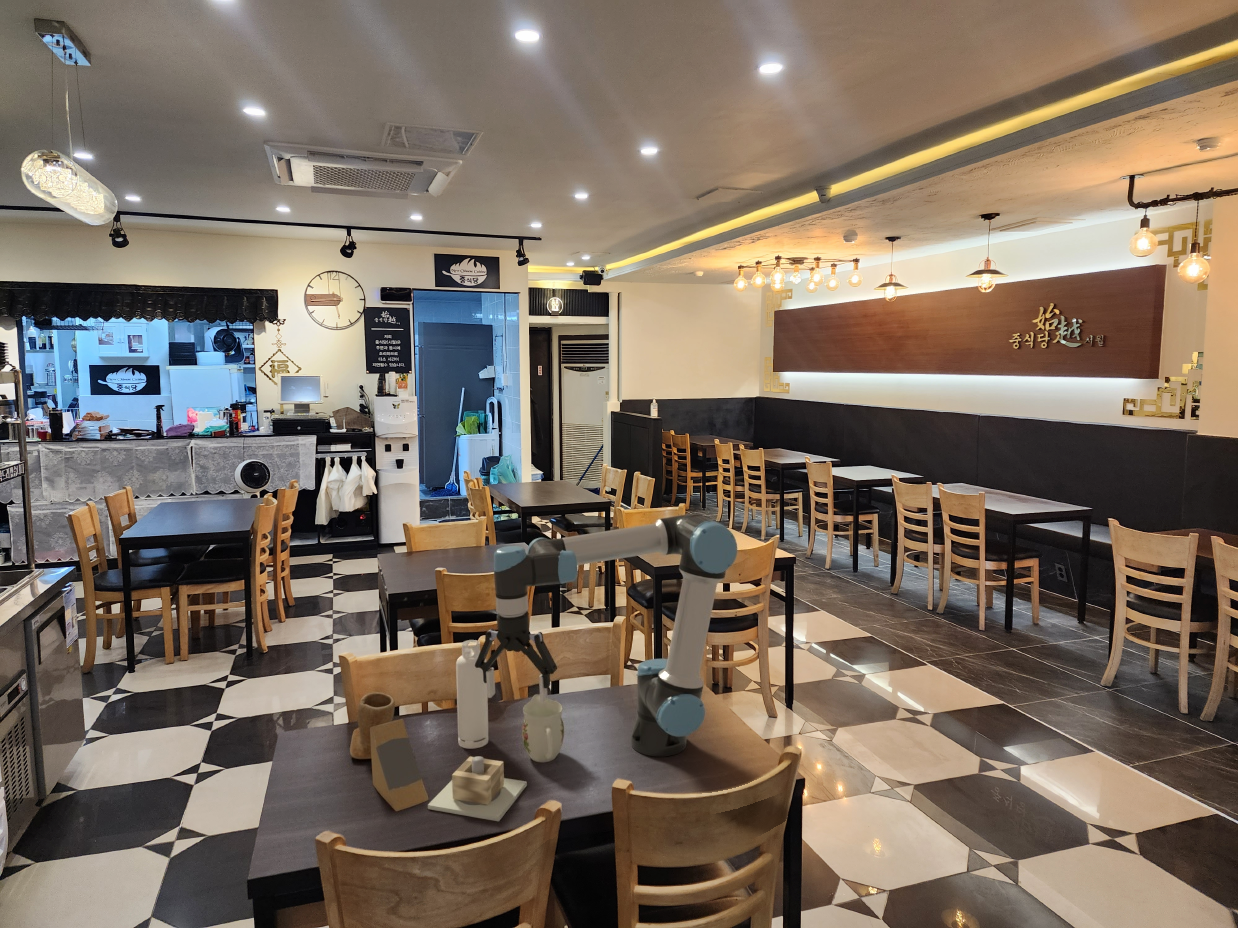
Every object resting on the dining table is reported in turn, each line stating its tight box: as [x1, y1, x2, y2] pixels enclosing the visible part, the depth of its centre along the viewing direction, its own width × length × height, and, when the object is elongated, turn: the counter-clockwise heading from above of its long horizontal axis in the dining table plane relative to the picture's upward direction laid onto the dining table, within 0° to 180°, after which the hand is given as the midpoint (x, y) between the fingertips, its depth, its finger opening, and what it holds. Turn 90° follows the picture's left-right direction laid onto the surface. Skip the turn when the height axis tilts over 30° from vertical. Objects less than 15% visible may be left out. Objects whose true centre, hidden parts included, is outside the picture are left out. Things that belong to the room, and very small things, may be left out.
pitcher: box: [521, 693, 565, 763], centre depth 206 cm, size 11×18×14 cm, turn 16°
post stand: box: [427, 756, 528, 822], centre depth 187 cm, size 18×16×10 cm
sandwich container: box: [370, 718, 429, 812], centre depth 189 cm, size 9×15×15 cm, turn 37°
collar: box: [451, 756, 505, 805], centre depth 187 cm, size 9×9×6 cm
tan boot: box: [349, 691, 396, 760], centre depth 211 cm, size 15×12×15 cm
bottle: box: [455, 639, 489, 750], centre depth 214 cm, size 8×8×28 cm
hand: (517, 697), depth 189 cm, fingers open, 13 cm apart
